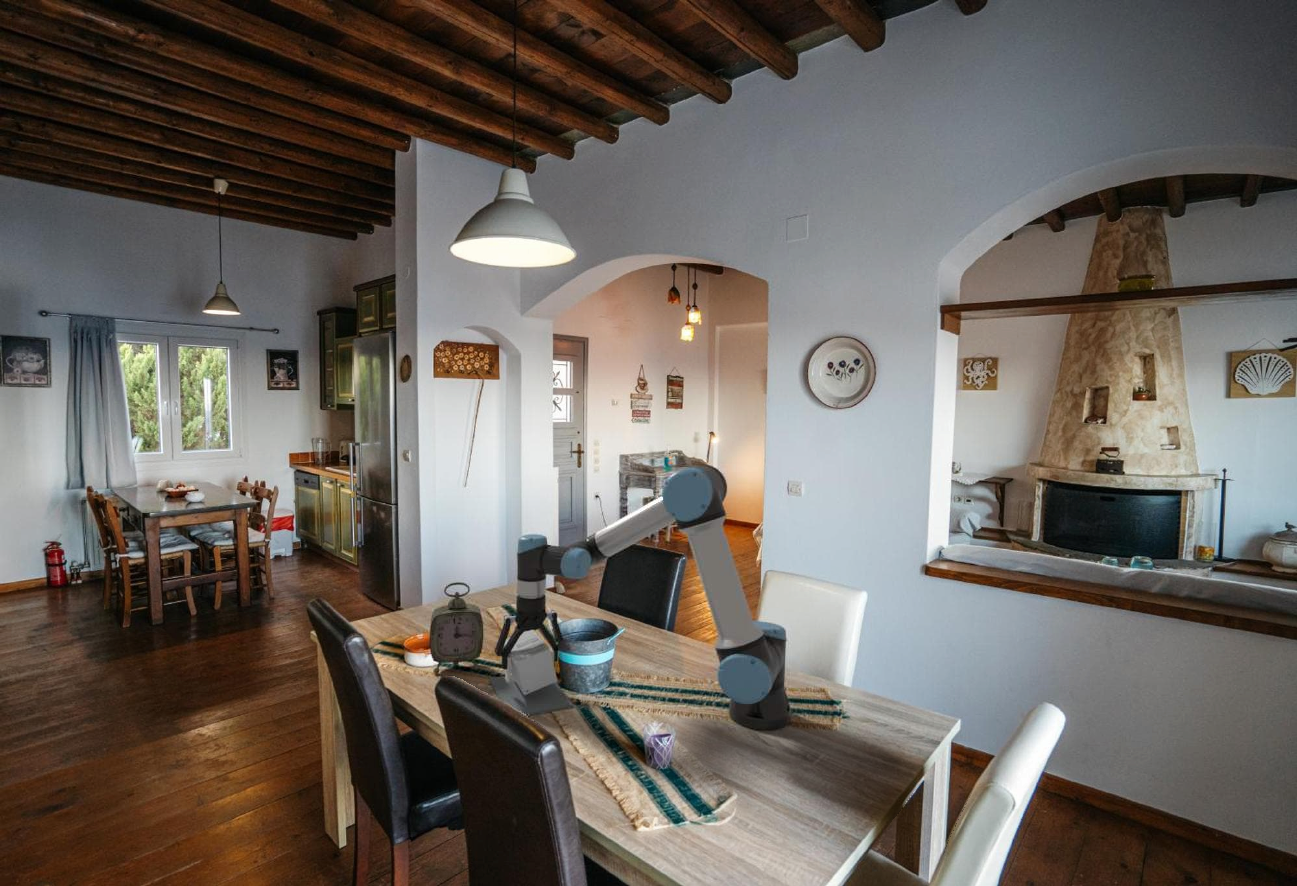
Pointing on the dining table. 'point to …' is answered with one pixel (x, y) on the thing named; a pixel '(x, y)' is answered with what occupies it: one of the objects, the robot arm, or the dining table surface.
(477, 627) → the tabletop clock
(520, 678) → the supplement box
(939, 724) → the dining table surface
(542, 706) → the mat
